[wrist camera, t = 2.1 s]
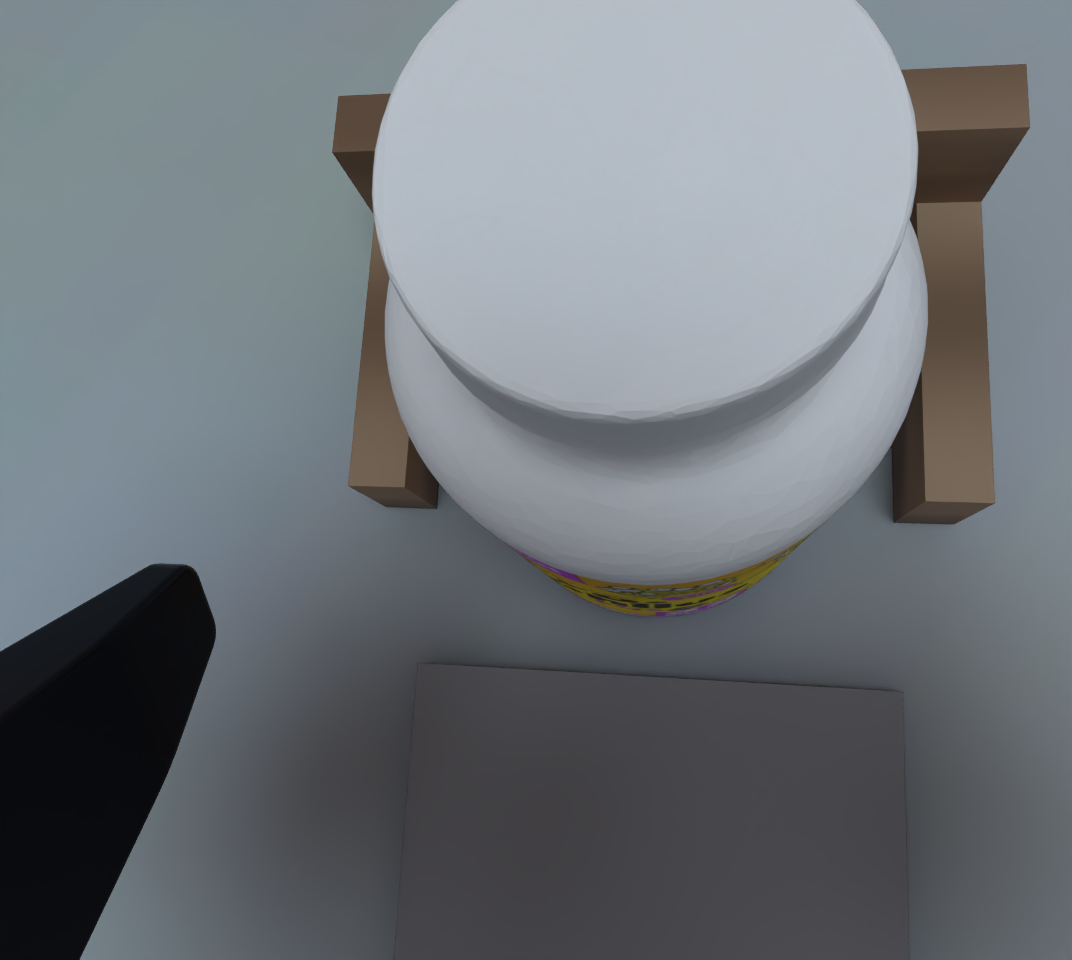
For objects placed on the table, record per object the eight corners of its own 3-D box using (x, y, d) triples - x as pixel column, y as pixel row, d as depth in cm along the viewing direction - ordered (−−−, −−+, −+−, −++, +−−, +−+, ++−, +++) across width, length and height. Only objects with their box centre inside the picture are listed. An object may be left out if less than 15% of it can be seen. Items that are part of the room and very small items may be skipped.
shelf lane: (954, 524, 19) (1050, 474, 14) (386, 507, 21) (298, 458, 16) (942, 208, 20) (1026, 64, 15) (412, 220, 22) (338, 96, 17)
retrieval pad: (910, 1253, 16) (916, 1271, 16) (383, 1171, 18) (375, 1185, 17) (897, 690, 18) (903, 691, 18) (423, 663, 20) (417, 663, 19)
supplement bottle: (467, 557, 20) (133, 382, 8) (571, 296, 21) (420, -235, 9) (754, 668, 19) (904, 669, 6) (852, 382, 20) (1152, -105, 7)
